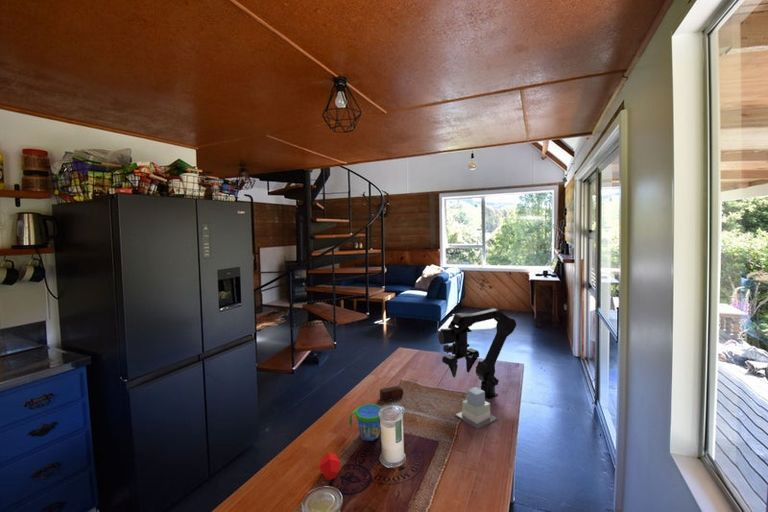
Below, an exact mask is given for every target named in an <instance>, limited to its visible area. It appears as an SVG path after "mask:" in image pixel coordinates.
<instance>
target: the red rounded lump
mask: <svg viewBox="0 0 768 512" xmlns="http://www.w3.org/2000/svg"><path fill="white" fill-rule="evenodd" d="M340 465H341V460H340V459H339V458H338V456H337V455H336V454H335V453H331V452H329V451H327V453H326V454H324V455H323V456H322V457H321V460H320V463H319V466H318V467H319V469H320V471H321V473H322V474H323V476H324V478H325V480H326V481H329V480H330V481H331V480H334V479H336V477H337V476H338V474H339V471H340V470H339V469H340V467H341V466H340Z"/></svg>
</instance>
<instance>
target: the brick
mask: <svg viewBox="0 0 768 512" xmlns="http://www.w3.org/2000/svg"><path fill="white" fill-rule="evenodd" d="M403 395H404V390H403V388H402V387H401V386H399V385H394V386H388V387H384V388H381V389H379V399H381V402H388V401H391V400H390V399H393V400H395V399H394V398H397V399H400V398H399V397H401V398H403ZM387 400H388V401H387Z"/></svg>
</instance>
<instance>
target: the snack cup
mask: <svg viewBox="0 0 768 512" xmlns="http://www.w3.org/2000/svg"><path fill="white" fill-rule="evenodd" d="M381 408H382V407H381V406H380V405H378V404H374V403H366V404H362V405H360V406H358V407H357V408H356V409H354V410H353V411H351V414H350V416H349V426H350V427H352V426H353V425H354V424H353V423H354V422H353V418H352V417H353V415H355V417H356V420H357V426H358V427H357V428H358V433H359V437H360V438H361V439H362V440H363V441H367V442H369V441H372V442H373V441H374V440H376V439H378V438H379V437H380V434H381V433H380V432H381V427H380V419H379V414H378V412H379V410H380V409H381ZM374 442H375V441H374Z"/></svg>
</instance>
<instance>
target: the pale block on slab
mask: <svg viewBox="0 0 768 512" xmlns="http://www.w3.org/2000/svg"><path fill="white" fill-rule="evenodd" d="M461 403H462V404H461V410H462V411H460V412H458V413H456V414H455V415H456V416H455V415H454V416H455V417H457V418H458V417H459V419H460V420H462V421H463V422H465V423H466V424H468V425H470V426H471V427H473V428H474V429H476V430H480V429H481V428H483V427H486V426H487V425H489V424H491V423H493V422H495V421H498V418H497V417H496V416H495V415H493V414H491V403H490V402H488V401H486V400H485V403H484V404H482V405H480V406H477V407H476V406H474V405H472V404H471V403H469V402H467V398H466V399H464V400H462V401H461Z"/></svg>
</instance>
